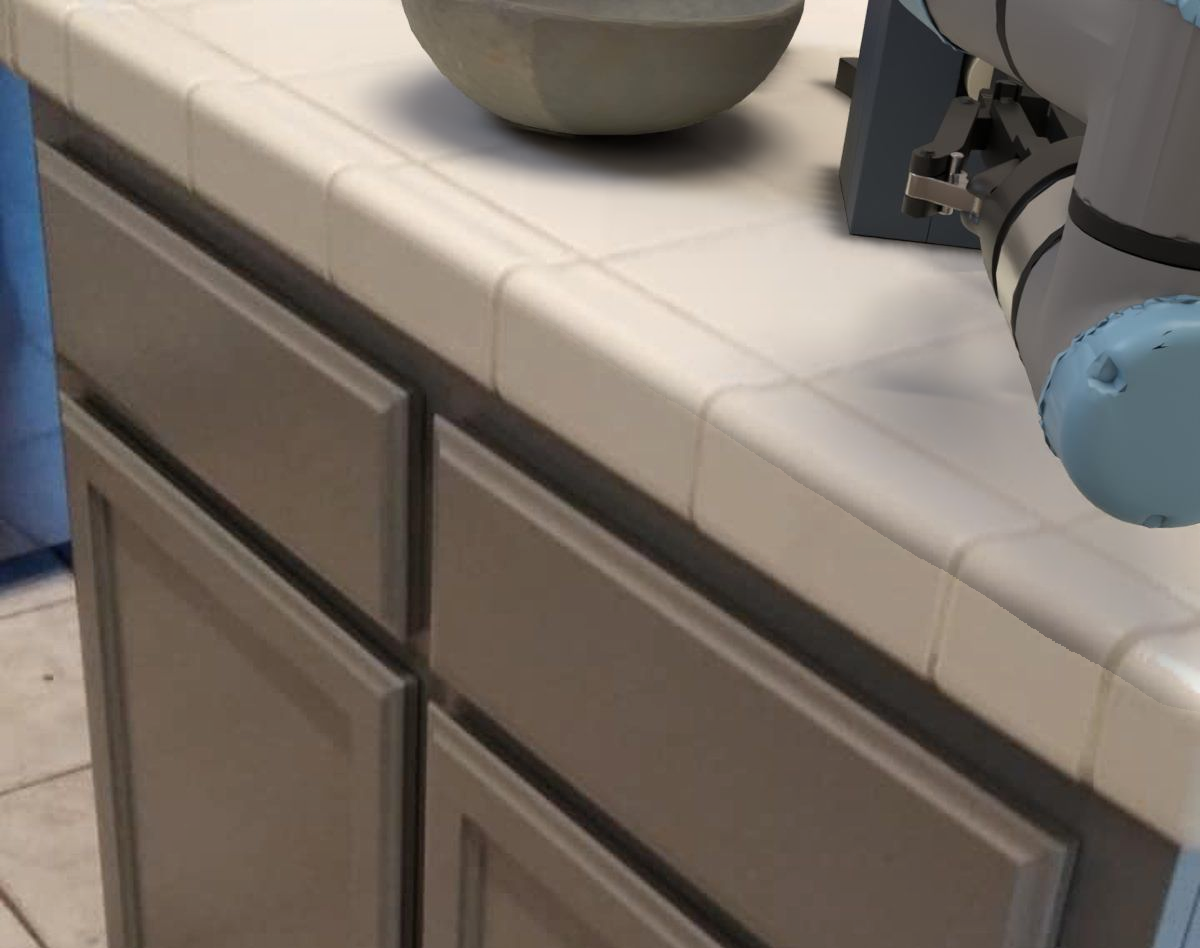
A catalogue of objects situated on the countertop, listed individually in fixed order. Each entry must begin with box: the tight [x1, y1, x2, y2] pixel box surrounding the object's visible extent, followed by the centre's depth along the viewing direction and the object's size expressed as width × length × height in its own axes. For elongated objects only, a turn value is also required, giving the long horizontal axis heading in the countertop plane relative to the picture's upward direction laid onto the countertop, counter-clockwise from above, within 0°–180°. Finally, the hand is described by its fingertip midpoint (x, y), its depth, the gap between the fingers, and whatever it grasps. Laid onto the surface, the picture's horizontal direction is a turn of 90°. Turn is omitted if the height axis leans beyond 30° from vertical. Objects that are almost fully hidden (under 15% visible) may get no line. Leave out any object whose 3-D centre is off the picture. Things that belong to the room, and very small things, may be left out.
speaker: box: [838, 0, 987, 250], centre depth 100 cm, size 10×12×13 cm
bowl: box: [400, 0, 806, 136], centre depth 108 cm, size 21×21×8 cm
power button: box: [960, 53, 994, 101], centre depth 96 cm, size 4×4×4 cm
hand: (1006, 87), depth 95 cm, fingers closed
